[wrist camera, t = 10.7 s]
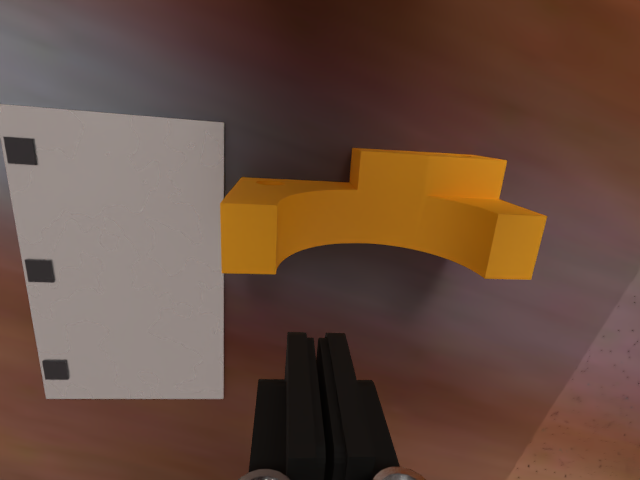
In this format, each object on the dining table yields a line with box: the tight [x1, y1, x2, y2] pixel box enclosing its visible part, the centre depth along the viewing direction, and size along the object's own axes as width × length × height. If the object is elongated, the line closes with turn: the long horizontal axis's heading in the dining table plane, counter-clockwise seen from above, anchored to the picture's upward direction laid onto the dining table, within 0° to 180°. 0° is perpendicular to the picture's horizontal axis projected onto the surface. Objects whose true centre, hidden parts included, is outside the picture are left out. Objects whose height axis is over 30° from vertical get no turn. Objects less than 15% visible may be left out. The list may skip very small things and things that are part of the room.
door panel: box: [0, 104, 224, 399], centre depth 19 cm, size 16×10×1 cm, turn 175°
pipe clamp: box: [220, 148, 547, 280], centre depth 16 cm, size 12×4×6 cm, turn 87°
